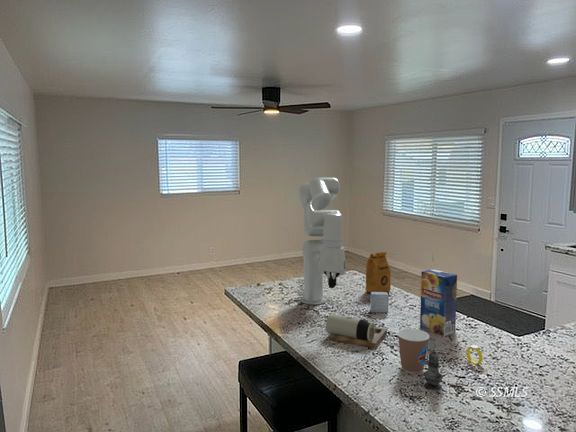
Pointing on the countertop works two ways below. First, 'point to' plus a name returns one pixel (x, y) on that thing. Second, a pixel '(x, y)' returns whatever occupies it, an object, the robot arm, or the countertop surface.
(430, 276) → the juice carton
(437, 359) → the grey stone figurine
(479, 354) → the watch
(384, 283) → the coffee package
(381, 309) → the medicine box
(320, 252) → the robot arm
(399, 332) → the coffee cup
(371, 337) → the travel mug
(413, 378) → the countertop surface
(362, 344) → the walnut tray
